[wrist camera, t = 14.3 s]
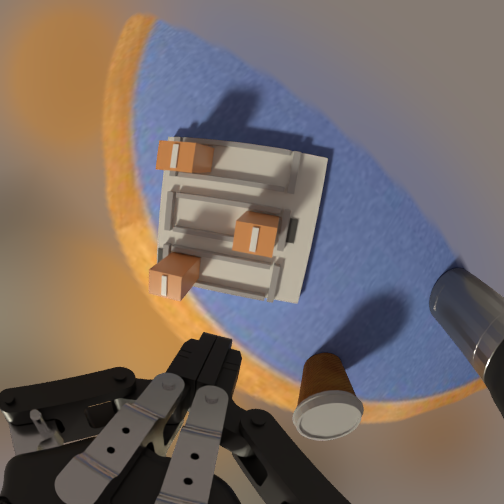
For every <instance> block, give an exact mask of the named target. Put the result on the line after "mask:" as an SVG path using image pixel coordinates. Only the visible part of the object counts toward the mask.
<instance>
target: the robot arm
mask: <svg viewBox="0 0 504 504" xmlns="http://www.w3.org/2000/svg"><path fill="white" fill-rule="evenodd" d="M429 307H430V311H431V314H432V315H433V317H434V318H435V319H436V320H437V322H438V323H439V324H440V325H441V326H442V328H443V329H444V330H445V331H446V333H447V334H448V335H449V336H450V338H451V339H452V340H453V341H454V343H455V344H456V345H457V347H458V348H459V349H460V350H461V352H462V353H463V354H464V356H465V357H466V358H467V360H468V361H469V362H470V364H471V365H472V366H473V368H474V369H475V370H476V372H477V373H478V375H479V376H480V377H481V379H482V380H483V382H484V383H485V385H486V386H487V388H488V389H489V391H490V393H491V396H492V398H493V400H494V402H495V404H496V406H497V407H498V409H499V411H500V412H501V414H502V416H503V418H504V297H502V296H501V295H500V294H498V293H497V292H496V291H494V290H493V289H492V288H490V287H489V286H488V285H486V284H485V283H483V282H482V281H481V280H480V279H478V278H477V277H475V276H474V275H472V274H471V273H469V272H468V271H466V270H465V269H462V268H454V269H451V270H449V271H448V272H446V273H445V274H444V275H442V276H441V277H440V279H439V280H438V281H437V282H436V284H435V286H434V288H433V290H432V292H431V295H430V301H429ZM231 346H232V339H229V338H225V337H221V336H217V335H213V334H209V333H206V332H203V334H202V335H201V337H200V339H199V340H195V339H190V340H188V341H187V342H185V343H184V344H183V346H182V347H181V349H180V351H179V352H178V354H177V355H176V357H175V358H174V360H173V361H172V363H171V365H170V366H169V368H168V369H167V371H166V373H162V374H159V375H157V376H156V377H155V378H154V379H153V380H146V379H137V378H135V375H134V373H133V372H132V371H131V370H129V369H127V368H124V367H115V368H111V369H107V370H103V371H98V372H94V373H90V374H85V375H81V376H76V377H72V378H67V379H62V380H57V381H51V382H46V383H41V384H35V385H29V386H22V387H16V388H9V389H5V390H3V391H2V392H1V393H0V410H1V411H2V413H3V414H4V416H5V419H6V420H7V422H8V423H9V428H10V433H11V438H12V442H13V447H14V451H15V455H16V456H15V457H13V458H12V459H11V460H10V461H9V462H8V463H7V465H6V468H5V473H4V482H3V488H2V491H1V494H0V504H241V502H240V501H239V499H238V497H237V496H236V494H235V493H234V491H233V490H232V488H231V487H230V486H229V485H228V484H227V483H226V482H225V481H223V480H222V479H221V478H219V477H218V476H216V475H215V474H214V469H215V464H216V460H217V455H218V449H219V445H220V446H222V447H224V448H226V449H228V450H229V451H231V452H232V455H233V457H234V459H235V460H236V461H237V463H238V465H239V466H240V468H241V469H242V471H243V472H244V474H245V475H246V477H247V478H248V479H249V481H250V482H251V484H252V485H253V486H254V488H255V489H256V491H257V492H258V494H259V495H260V496H261V497H262V499H263V500H264V502H265V503H266V504H351V503H350V502H349V501H348V500H347V499H346V498H345V497H344V496H343V495H342V494H341V493H340V492H339V491H338V490H337V489H336V488H335V487H334V486H333V485H332V484H331V483H330V482H329V481H328V480H327V479H326V478H325V477H324V475H323V474H322V473H321V472H320V471H319V470H318V469H317V468H316V467H315V466H314V465H313V464H312V462H311V461H310V460H309V459H308V458H307V457H306V456H305V454H304V453H303V452H302V451H301V450H300V449H299V448H298V447H297V445H296V444H295V443H294V442H293V441H292V439H291V438H290V437H289V436H288V435H287V433H286V432H285V431H284V430H283V429H282V427H281V426H280V425H279V424H278V422H277V421H276V420H275V419H274V417H273V416H272V415H271V414H270V413H268V412H266V411H264V410H260V409H251V410H248V411H246V410H244V409H242V408H240V407H239V406H237V405H236V404H235V403H234V401H233V400H232V396H233V392H234V389H235V386H236V382H237V379H238V375H239V370H240V365H241V360H242V357H241V353H240V351H237V350H233V349H231ZM108 401H110V402H108ZM104 402H106V403H104ZM100 403H103V404H100ZM96 404H99V405H96ZM92 405H95V406H92ZM89 406H91V407H89ZM187 411H188V412H189V415H188V419H187V421H186V424H185V426H183V427H182V429H181V431H180V434H179V437H178V440H177V443H176V446H175V449H174V452H173V455H172V458H170V457H166V453H167V450H168V448H169V447H170V445H171V443H172V442H173V440H174V438H175V436H176V435H177V433H178V431H179V429H180V428H181V426H182V424H183V421H184V417H185V415H186V413H187ZM98 434H99V435H98ZM95 435H98V436H97V437H91V436H95ZM87 437H91V438H88V439H84V440H80V441H77V442H73V443H69V444H65V445H63V443H66V442H70V441H74V440H79V439H83V438H87Z"/></svg>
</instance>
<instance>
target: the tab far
mask: <svg viewBox="0 0 504 504" xmlns="http://www.w3.org/2000/svg"><path fill="white" fill-rule="evenodd" d="M200 260H201V257H196V256H191V255H186V254H181V253H176V252H172V253H170V254H169V255H168V256H166V257H165V258H164V259H162V260H161V261H160V262H158V263H157V264H156V265H154V266H153V267H152V268H150V269H149V293H150V294H153V295H157V296H161V297H165V298H169V299H173V300H177V301H181V300H182V299H183V297H184V296H185V295H186V294H187V292H188V291H189V290H190V289H191V288H192V286H193V285H194V284H195V283H196V281H197V280H198V279H199V271H200Z"/></svg>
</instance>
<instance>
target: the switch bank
mask: <svg viewBox="0 0 504 504" xmlns="http://www.w3.org/2000/svg"><path fill="white" fill-rule="evenodd" d="M168 141H178V142H191V143H198V144H202V145H205V146H209V147H212V148H214V155H213V161H212V168H211V172H202V173H188V172H179V171H170V170H164V175H163V184H162V193H161V204H160V216H159V231H158V249H157V263H158V262H160V261H161V260H162V259H164V258H165V257H166V256H168V255H169V254H170V253H172V252H176V253H181V254H186V255H191V256H196V257H201V260H200V271H199V279H198V280H197V281H196V283H195V284H194V285H193V286H194V287H198V288H203V289H208V290H212V291H217V292H222V293H227V294H231V295H236V296H241V297H246V298H251V299H257V300H262V301H264V298H267V302H272V303H273V300H274V299H275V300H280V301H286V302H291V303H297V304H298V300H299V296H300V292H301V288H302V283H303V279H304V275H305V271H306V266H307V262H308V258H309V253H310V249H311V244H312V240H313V235H314V230H315V225H316V220H317V215H318V210H319V205H320V200H321V195H322V189H323V184H324V178H325V173H326V167H327V161H328V158H324V157H319V156H315V155H310V154H304V153H301V152H298V151H291V150H286V149H281V148H274V147H268V146H262V145H255V144H247V143H239V142H231V141H222V140H212V139H201V138H188V137H183V138H182V137H168ZM246 211H251V212H257V213H263V214H269V215H274V216H280V217H279V222H278V228H277V233H276V239H275V244H274V249H273V255H272V258H270V257H265V256H260V255H254V254H249V253H244V252H238V251H233V250H232V247H233V239H234V232H235V225H236V220H237V219H239V218H240V217H241V216H242V215H243V214H244V213H245V212H246Z"/></svg>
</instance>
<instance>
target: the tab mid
mask: <svg viewBox="0 0 504 504" xmlns="http://www.w3.org/2000/svg"><path fill="white" fill-rule="evenodd" d="M279 217H280V216H274V215H269V214H263V213H257V212H251V211H246V212H245V213H244V214H243V215H242V216H241V217H240V218H239V219H237V220H236V225H235V232H234V239H233V247H232V250H233V251H238V252H244V253H249V254H254V255H260V256H265V257H270V258H272V255H273V249H274V244H275V239H276V233H277V228H278V222H279Z"/></svg>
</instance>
